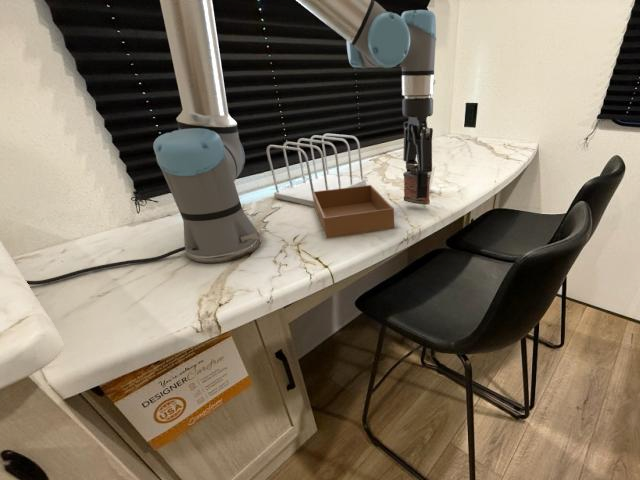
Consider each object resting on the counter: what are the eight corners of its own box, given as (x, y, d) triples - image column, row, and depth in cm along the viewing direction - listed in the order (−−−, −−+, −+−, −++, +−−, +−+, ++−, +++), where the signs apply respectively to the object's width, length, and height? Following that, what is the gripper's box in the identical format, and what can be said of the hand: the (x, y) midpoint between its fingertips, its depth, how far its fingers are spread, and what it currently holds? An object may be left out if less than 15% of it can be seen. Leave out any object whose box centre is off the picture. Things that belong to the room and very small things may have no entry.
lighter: (431, 202, 92) (433, 164, 86) (426, 205, 89) (427, 167, 84) (407, 197, 95) (407, 161, 89) (401, 200, 93) (400, 164, 87)
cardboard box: (326, 238, 77) (323, 218, 74) (315, 209, 93) (312, 191, 90) (394, 227, 82) (393, 208, 79) (372, 201, 98) (370, 184, 95)
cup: (423, 196, 101) (424, 169, 96) (401, 189, 107) (401, 163, 102) (438, 191, 105) (440, 165, 100) (417, 185, 111) (417, 160, 106)
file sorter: (328, 178, 119) (322, 131, 110) (366, 185, 111) (363, 135, 102) (274, 198, 102) (261, 143, 93) (315, 208, 94) (305, 149, 85)
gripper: (450, 99, 71) (444, 202, 84) (416, 94, 86) (415, 182, 100) (418, 100, 69) (417, 206, 82) (389, 95, 84) (392, 185, 98)
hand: (416, 193), depth 91 cm, fingers closed on lighter, 7 cm apart
